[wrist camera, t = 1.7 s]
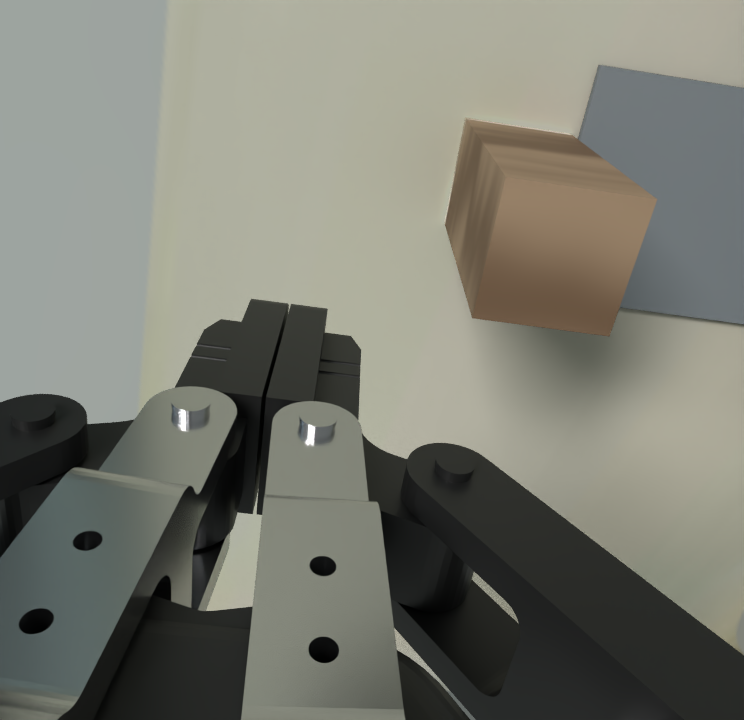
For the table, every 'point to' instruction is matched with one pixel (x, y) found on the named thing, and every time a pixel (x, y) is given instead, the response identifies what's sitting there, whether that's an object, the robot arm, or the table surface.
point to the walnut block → (543, 228)
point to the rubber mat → (678, 186)
